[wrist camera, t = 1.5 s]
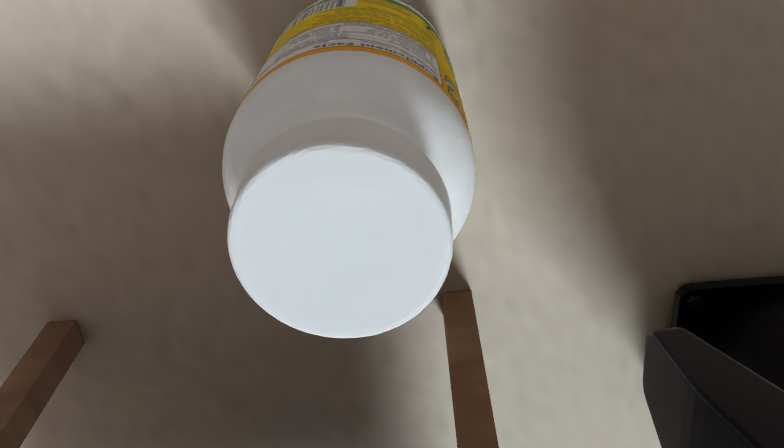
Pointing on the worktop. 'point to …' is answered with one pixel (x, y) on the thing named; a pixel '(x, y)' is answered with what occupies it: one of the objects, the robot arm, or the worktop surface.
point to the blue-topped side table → (63, 342)
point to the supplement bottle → (348, 170)
